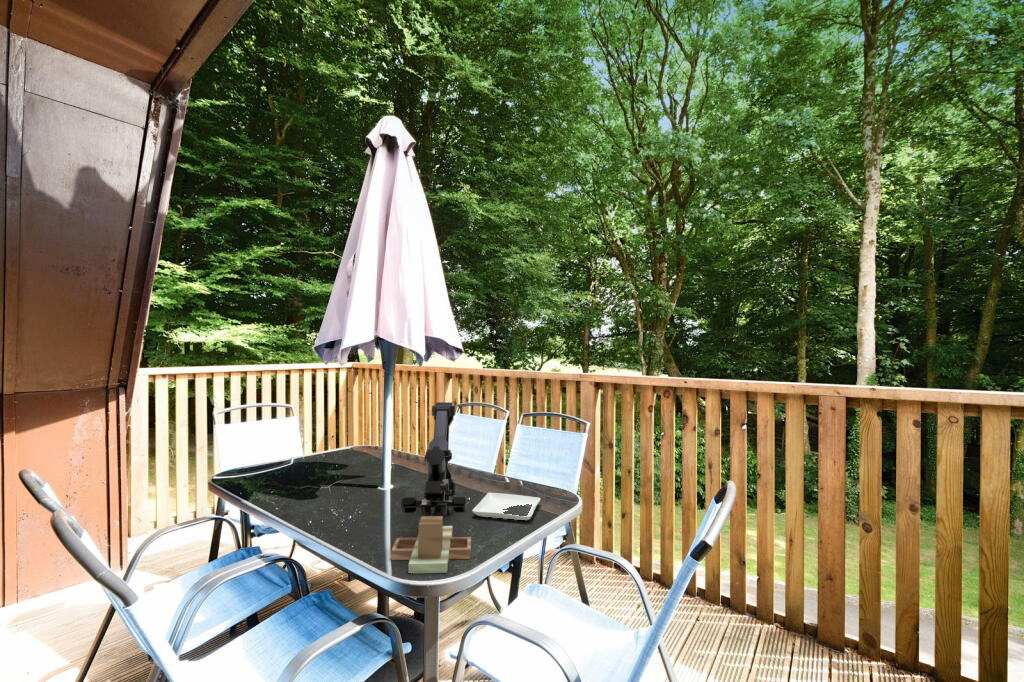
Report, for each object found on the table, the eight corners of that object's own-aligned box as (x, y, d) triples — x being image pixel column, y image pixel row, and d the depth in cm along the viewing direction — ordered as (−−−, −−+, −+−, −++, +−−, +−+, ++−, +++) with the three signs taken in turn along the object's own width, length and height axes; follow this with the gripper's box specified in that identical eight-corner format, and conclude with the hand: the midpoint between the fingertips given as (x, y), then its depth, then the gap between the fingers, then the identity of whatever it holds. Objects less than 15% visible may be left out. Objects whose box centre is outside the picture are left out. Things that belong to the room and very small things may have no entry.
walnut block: (420, 548, 130) (421, 516, 130) (442, 548, 130) (442, 516, 131) (418, 558, 124) (418, 524, 124) (440, 557, 124) (441, 524, 125)
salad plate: (530, 526, 156) (530, 515, 156) (470, 519, 161) (471, 509, 161) (541, 505, 176) (541, 496, 176) (488, 500, 181) (488, 492, 181)
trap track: (401, 534, 146) (401, 526, 146) (471, 533, 148) (471, 525, 148) (385, 574, 120) (385, 564, 120) (469, 572, 122) (469, 562, 122)
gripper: (402, 468, 136) (395, 520, 124) (466, 468, 137) (464, 519, 126) (406, 487, 143) (399, 538, 132) (466, 487, 145) (465, 537, 133)
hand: (431, 532), depth 131 cm, fingers closed
